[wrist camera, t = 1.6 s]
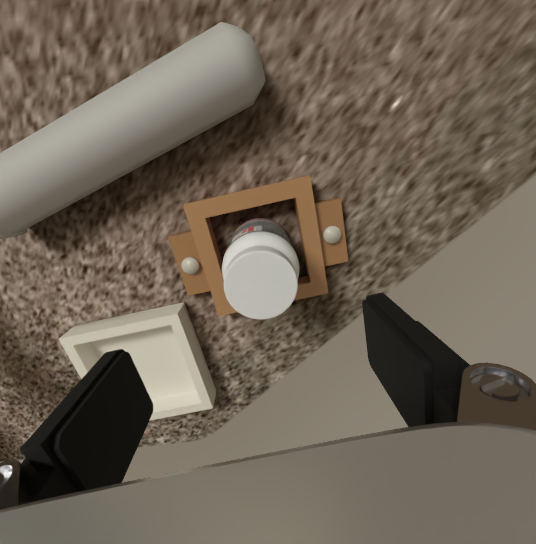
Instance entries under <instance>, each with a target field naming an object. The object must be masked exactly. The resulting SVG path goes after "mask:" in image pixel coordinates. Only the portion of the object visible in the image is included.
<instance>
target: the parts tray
mask: <svg viewBox="0 0 536 544" xmlns="http://www.w3.org/2000/svg"><path fill="white" fill-rule="evenodd" d="M59 341H60V342H61V344H62V346H63V348H64V349H65V351H66V353H67V355H68V356H69V358H70V360H71V362H72V363H73V365H74V367H75V369H76V370H77V372H78V374H79V376H80V377H81V379H82V378H83V377H84V376H85V375H86V374H87V372H88V371H89V370H90V369H91V368H92V367H93V366H94V365H95V363H96V362H97V361H98V360H99V359H100V358H101V357H102V356H103V354H104V353H106V352H109V351H114V350H119V349H123V350H124V351H125V352H128V353H129V354H130V355H131V358H132V360H133V362H134V364H135V366H136V368H137V370H138V373H139V375H140V377H141V379H142V381H143V383H144V385H145V387H146V390H147V392H148V394H149V396H150V398H151V400H152V403H153V413H152V416H151V418H150V420H155V419H160V418H165V417H171V416H176V415H181V414H186V413H191V412H196V411H202V410H207V409H212V408H213V406H214V401H215V396H216V388H215V385H214V383H213V380H212V377H211V374H210V371H209V369H208V366H207V363H206V360H205V358H204V355H203V352H202V349H201V346H200V344H199V341H198V338H197V335H196V333H195V330H194V327H193V324H192V322H191V319H190V316H189V313H188V310H187V308H186V305H185V302H183V303H179V304H174V305H169V306H164V307H160V308H155V309H150V310H146V311H141V312H136V313H132V314H127V315H122V316H118V317H113V318H108V319H103V320H99V321H94V322H89V323H85V324H80V325H76V326H74V327H73V328H72V329H70V330H69V331H68V332H67V333H65V334H64V335H63V336H62V337H60V338H59ZM150 420H149V421H150Z"/></svg>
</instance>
